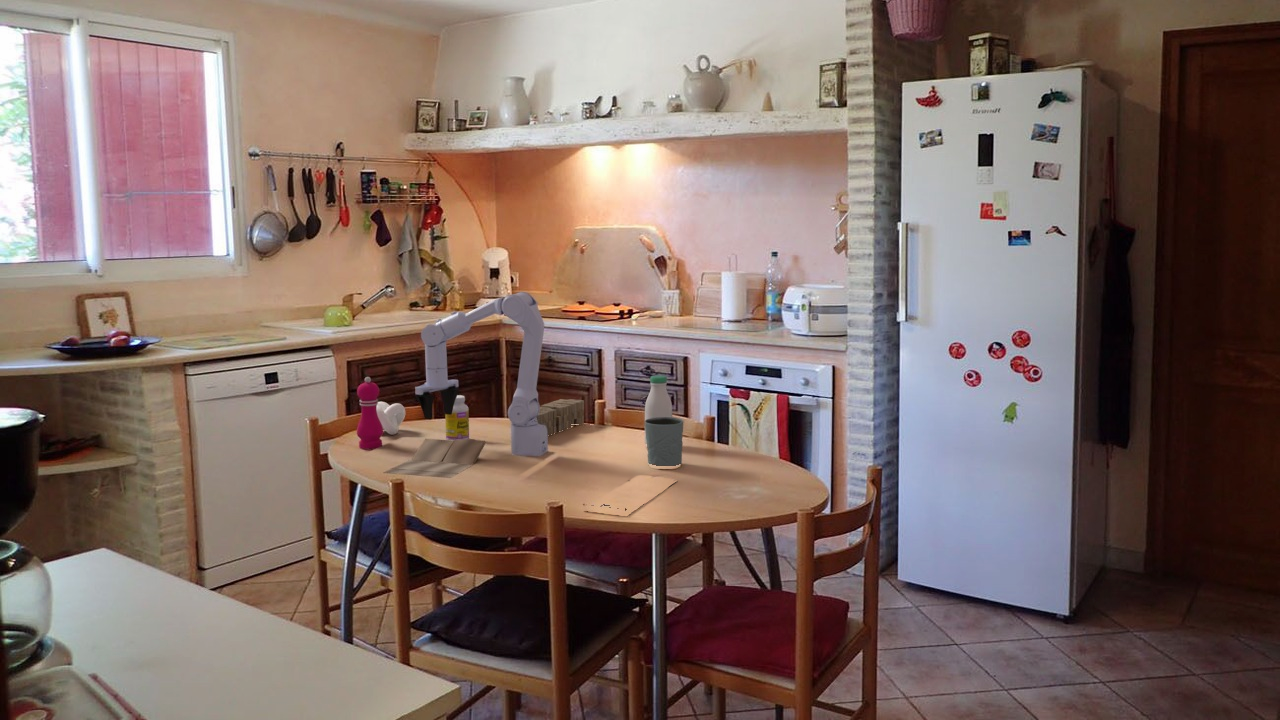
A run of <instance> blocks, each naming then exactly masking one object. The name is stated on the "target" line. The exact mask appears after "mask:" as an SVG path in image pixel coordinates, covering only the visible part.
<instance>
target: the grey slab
mask: <svg viewBox="0 0 1280 720" xmlns="http://www.w3.org/2000/svg"><path fill="white" fill-rule="evenodd" d="M473 466H474V464H472V465H469V464H456V463H442V462H429V461H415V460H412V459H408V460H406V461H404V462H402V463H400V464H398V465H395V466H394V467H392V468H390V469H388V470H385V471H383V474H392V475H393V474H395V475H408V476H409V475H410V476H422V477H434V478H446V479H451V478H453V477H454V476H456V475H458V474H460V473H462V472H464V471H465V470H468V468H471V467H473Z"/></svg>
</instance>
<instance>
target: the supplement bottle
mask: <svg viewBox="0 0 1280 720" xmlns="http://www.w3.org/2000/svg"><path fill="white" fill-rule="evenodd" d="M465 401H466V395H463V394H462V395H461V394H459V395H457V397H456V399H455V402H454V406H453V411H452V414H451V415H449V414H445V413H444V415H445V416H444V417H445V440H453V441H454V440H455V439H464V440H470V418H469V415H470V414H469V413H470V412H469V410H470V409H469V407H468V405H467V404H466V403H465Z"/></svg>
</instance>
